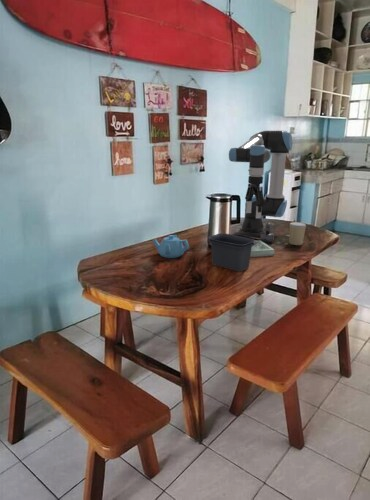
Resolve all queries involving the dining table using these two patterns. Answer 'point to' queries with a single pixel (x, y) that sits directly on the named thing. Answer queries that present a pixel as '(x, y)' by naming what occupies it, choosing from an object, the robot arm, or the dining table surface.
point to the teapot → (171, 246)
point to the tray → (264, 252)
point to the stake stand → (267, 235)
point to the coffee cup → (296, 233)
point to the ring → (256, 246)
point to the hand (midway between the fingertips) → (253, 215)
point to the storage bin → (231, 251)
